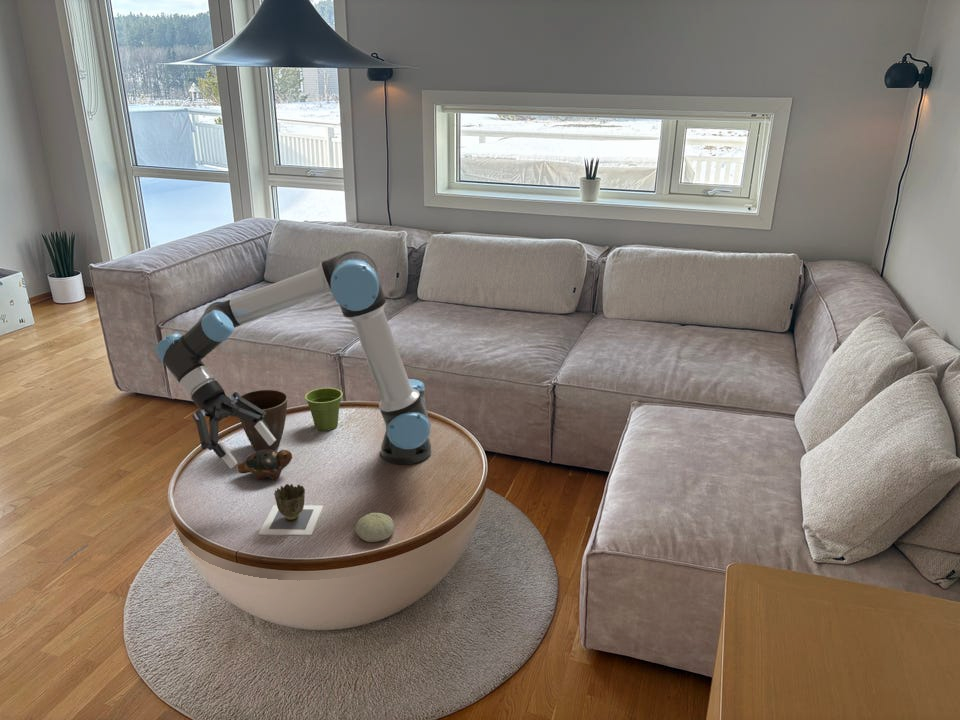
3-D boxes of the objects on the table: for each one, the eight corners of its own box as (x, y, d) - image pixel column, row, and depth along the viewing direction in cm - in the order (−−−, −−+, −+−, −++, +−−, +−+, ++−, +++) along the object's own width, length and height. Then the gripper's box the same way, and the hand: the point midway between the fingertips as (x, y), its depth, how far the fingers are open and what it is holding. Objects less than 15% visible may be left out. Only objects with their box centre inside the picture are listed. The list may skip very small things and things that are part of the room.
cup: (312, 512, 184) (309, 485, 181) (299, 528, 177) (296, 500, 174) (285, 508, 185) (282, 481, 183) (271, 524, 179) (268, 496, 176)
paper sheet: (323, 506, 187) (323, 505, 187) (311, 535, 175) (311, 534, 175) (273, 505, 187) (273, 504, 187) (258, 534, 175) (258, 533, 175)
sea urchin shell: (397, 537, 172) (372, 517, 169) (374, 557, 173) (349, 538, 171) (398, 515, 180) (374, 497, 178) (376, 535, 182) (353, 517, 179)
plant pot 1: (291, 456, 213) (287, 407, 207) (239, 461, 209) (233, 412, 204) (291, 434, 226) (287, 387, 221) (242, 439, 223) (236, 392, 217)
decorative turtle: (294, 481, 199) (290, 456, 196) (238, 490, 197) (233, 465, 193) (295, 463, 208) (291, 439, 205) (241, 471, 205) (236, 447, 202)
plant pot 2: (308, 420, 236) (305, 388, 232) (344, 417, 238) (342, 386, 234) (306, 436, 225) (303, 403, 221) (344, 433, 227) (342, 401, 223)
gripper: (232, 379, 193) (280, 440, 192) (156, 414, 172) (209, 483, 171) (245, 364, 189) (294, 427, 188) (168, 398, 168) (223, 468, 167)
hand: (254, 454), depth 180 cm, fingers open, 13 cm apart
